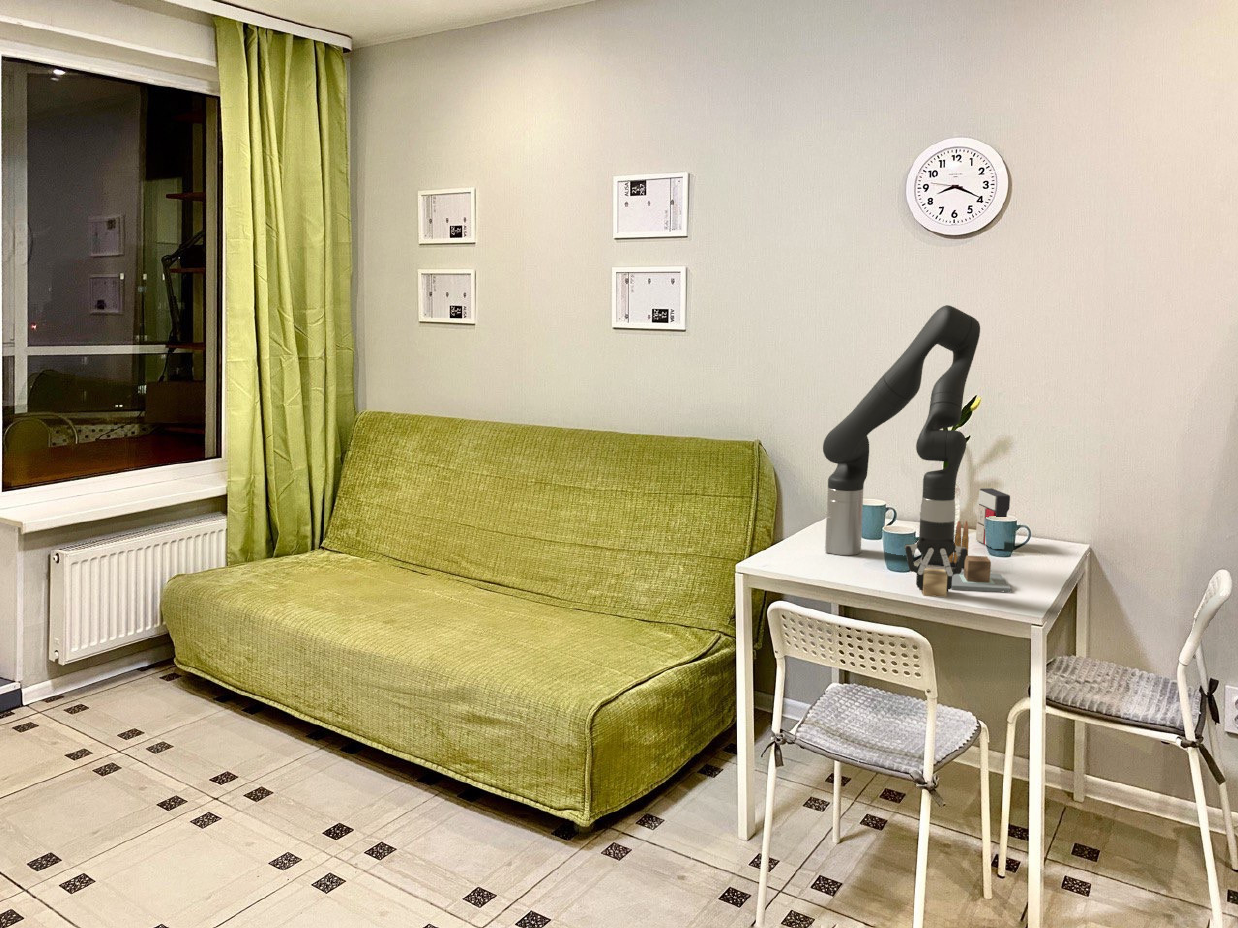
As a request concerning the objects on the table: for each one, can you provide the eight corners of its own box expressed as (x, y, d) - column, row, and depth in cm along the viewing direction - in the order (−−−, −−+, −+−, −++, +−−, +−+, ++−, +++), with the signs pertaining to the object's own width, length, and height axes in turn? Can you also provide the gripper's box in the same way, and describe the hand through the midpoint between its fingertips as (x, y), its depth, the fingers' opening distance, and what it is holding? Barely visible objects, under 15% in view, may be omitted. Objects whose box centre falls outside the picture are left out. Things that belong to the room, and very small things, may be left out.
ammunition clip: (968, 567, 255) (970, 520, 253) (967, 569, 253) (970, 522, 251) (924, 562, 259) (926, 516, 257) (923, 564, 258) (925, 518, 256)
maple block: (923, 595, 230) (924, 574, 229) (920, 589, 235) (921, 568, 234) (946, 596, 229) (947, 575, 228) (943, 590, 234) (944, 569, 233)
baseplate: (951, 589, 235) (951, 585, 234) (944, 575, 247) (944, 570, 247) (1010, 592, 232) (1010, 587, 232) (1000, 577, 245) (1000, 573, 245)
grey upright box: (974, 541, 283) (977, 488, 281) (988, 540, 283) (992, 488, 281) (991, 550, 272) (994, 495, 270) (1006, 550, 273) (1010, 495, 270)
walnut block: (967, 581, 237) (968, 560, 237) (963, 575, 242) (965, 555, 242) (989, 582, 237) (990, 561, 236) (985, 576, 242) (987, 556, 241)
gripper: (906, 519, 227) (902, 593, 229) (973, 522, 224) (968, 596, 227) (903, 512, 234) (899, 584, 237) (967, 515, 232) (963, 587, 234)
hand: (933, 589), depth 232 cm, fingers closed on maple block, 5 cm apart
